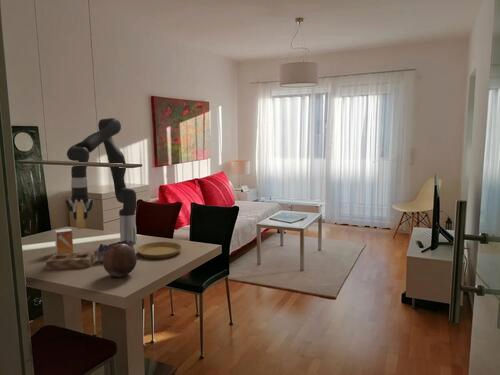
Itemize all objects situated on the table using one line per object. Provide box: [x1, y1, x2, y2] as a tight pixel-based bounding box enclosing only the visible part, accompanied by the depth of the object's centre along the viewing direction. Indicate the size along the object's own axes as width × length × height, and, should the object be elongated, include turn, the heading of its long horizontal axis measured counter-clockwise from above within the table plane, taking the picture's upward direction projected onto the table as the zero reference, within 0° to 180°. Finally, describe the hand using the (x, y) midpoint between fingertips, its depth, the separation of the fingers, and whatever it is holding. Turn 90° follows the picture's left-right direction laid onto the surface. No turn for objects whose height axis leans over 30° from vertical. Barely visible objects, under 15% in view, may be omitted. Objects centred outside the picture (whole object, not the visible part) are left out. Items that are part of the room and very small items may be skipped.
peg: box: [76, 202, 86, 230], centre depth 203 cm, size 4×4×14 cm
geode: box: [96, 240, 136, 264], centre depth 210 cm, size 20×12×10 cm, turn 142°
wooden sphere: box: [102, 244, 138, 278], centre depth 183 cm, size 15×15×15 cm
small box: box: [54, 228, 74, 254], centre depth 218 cm, size 8×6×13 cm
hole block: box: [45, 251, 96, 270], centre depth 200 cm, size 20×12×4 cm, turn 100°
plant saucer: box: [136, 241, 182, 260], centre depth 219 cm, size 24×24×3 cm
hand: (80, 219), depth 203 cm, fingers closed on peg, 4 cm apart
